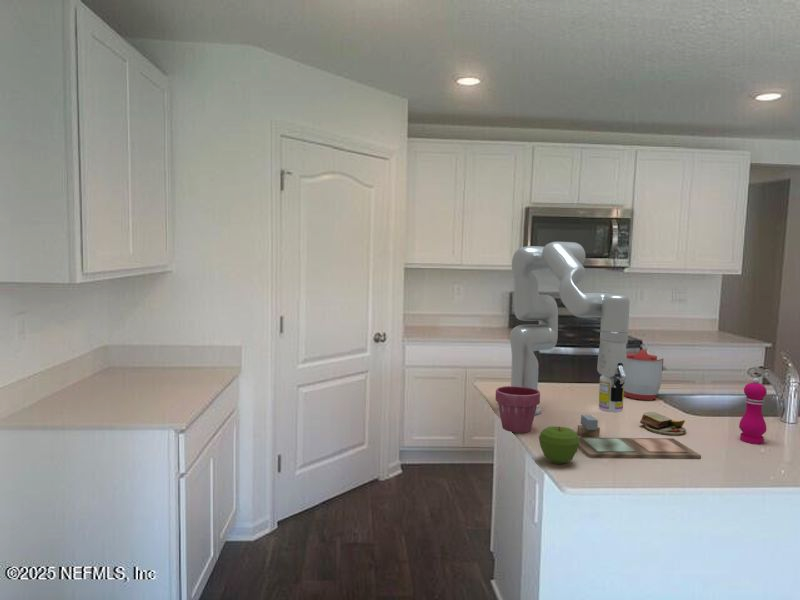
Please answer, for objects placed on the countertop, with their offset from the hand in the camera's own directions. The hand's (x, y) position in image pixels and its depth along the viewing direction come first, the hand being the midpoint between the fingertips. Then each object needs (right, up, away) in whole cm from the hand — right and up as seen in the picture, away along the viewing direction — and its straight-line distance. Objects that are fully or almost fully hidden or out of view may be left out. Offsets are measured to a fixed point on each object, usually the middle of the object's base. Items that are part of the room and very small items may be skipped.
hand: (610, 397), depth 164 cm
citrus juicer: (+38, -12, +67) cm, 78 cm away
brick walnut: (-2, -15, +14) cm, 20 cm away
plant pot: (-24, -14, +19) cm, 33 cm away
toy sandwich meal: (+25, -15, +22) cm, 37 cm away
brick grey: (-2, -12, +14) cm, 18 cm away
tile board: (+7, -15, +1) cm, 17 cm away
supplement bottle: (0, -4, 0) cm, 4 cm away
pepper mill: (+49, -16, +12) cm, 53 cm away
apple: (-18, -16, -11) cm, 27 cm away
